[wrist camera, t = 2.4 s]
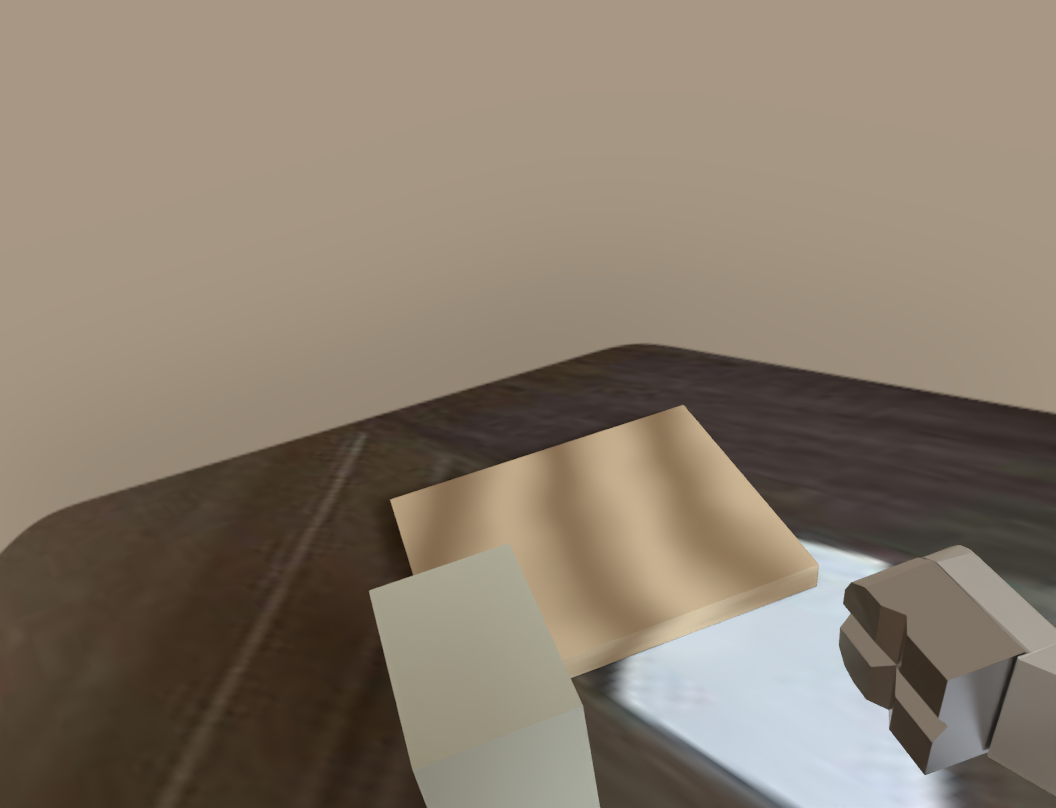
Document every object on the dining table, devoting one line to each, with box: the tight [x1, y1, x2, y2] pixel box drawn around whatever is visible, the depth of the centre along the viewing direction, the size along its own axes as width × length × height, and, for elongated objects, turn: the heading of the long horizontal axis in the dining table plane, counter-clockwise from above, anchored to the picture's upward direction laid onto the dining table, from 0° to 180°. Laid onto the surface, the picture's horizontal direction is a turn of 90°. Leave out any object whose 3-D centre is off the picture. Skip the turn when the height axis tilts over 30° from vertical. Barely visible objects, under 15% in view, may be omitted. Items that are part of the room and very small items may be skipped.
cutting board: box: [390, 405, 819, 678], centre depth 45 cm, size 18×14×2 cm
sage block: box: [369, 543, 600, 808], centre depth 31 cm, size 5×7×12 cm
